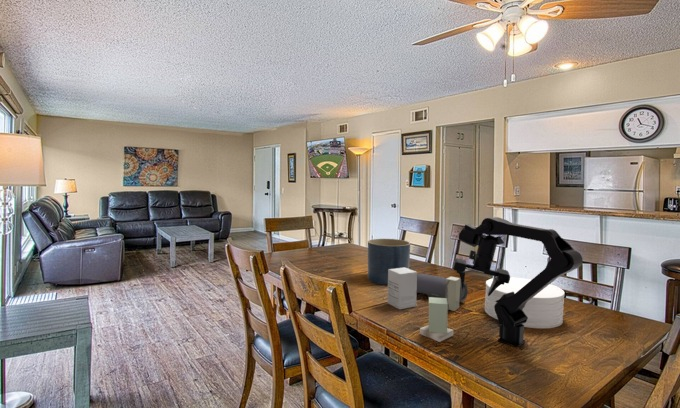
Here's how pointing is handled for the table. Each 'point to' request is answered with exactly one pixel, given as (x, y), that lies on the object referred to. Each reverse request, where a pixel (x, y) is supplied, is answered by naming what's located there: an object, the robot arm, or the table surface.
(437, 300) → the green block
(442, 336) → the base block
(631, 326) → the table surface
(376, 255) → the planter
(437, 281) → the bluetooth speaker
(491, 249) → the robot arm
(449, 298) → the box
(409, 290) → the supplement box
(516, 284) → the plate stack
